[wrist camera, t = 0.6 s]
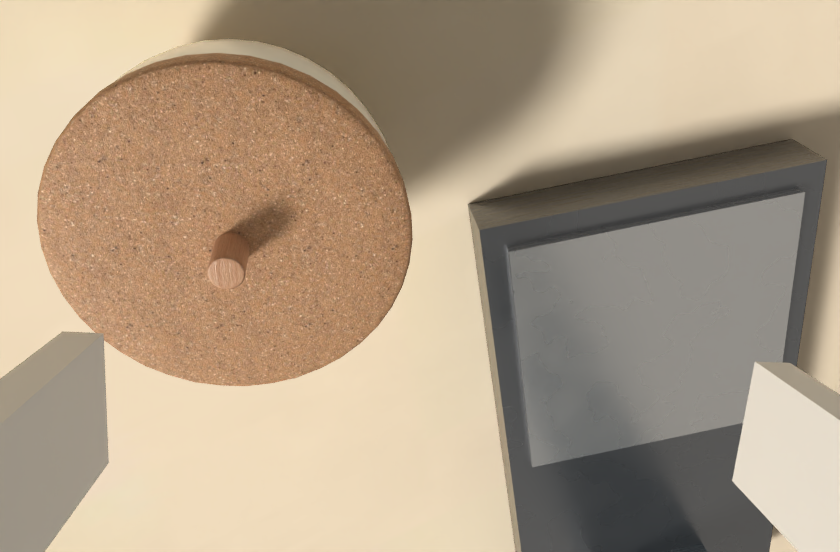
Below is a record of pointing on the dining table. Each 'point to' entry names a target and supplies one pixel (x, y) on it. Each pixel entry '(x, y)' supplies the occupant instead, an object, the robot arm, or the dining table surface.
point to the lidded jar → (226, 215)
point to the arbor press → (642, 344)
